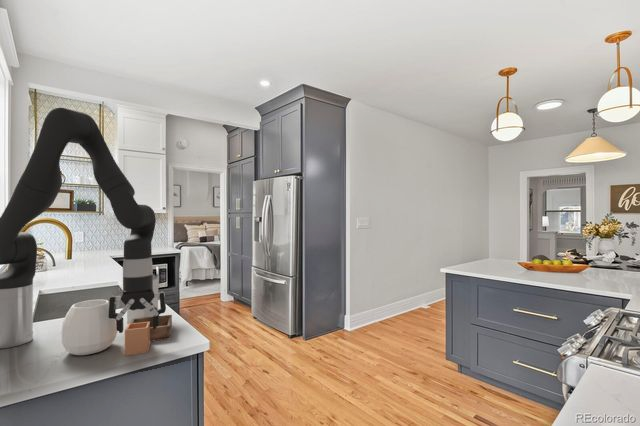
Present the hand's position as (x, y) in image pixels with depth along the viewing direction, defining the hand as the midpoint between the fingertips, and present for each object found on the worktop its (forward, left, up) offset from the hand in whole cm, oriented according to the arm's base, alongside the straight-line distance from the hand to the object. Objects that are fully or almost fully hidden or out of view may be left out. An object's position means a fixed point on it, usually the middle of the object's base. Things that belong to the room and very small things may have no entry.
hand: (138, 330), depth 94 cm
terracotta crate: (0, 0, -6) cm, 6 cm away
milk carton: (-2, +27, -6) cm, 28 cm away
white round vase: (-13, +5, -6) cm, 15 cm away
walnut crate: (+2, +12, -6) cm, 14 cm away
